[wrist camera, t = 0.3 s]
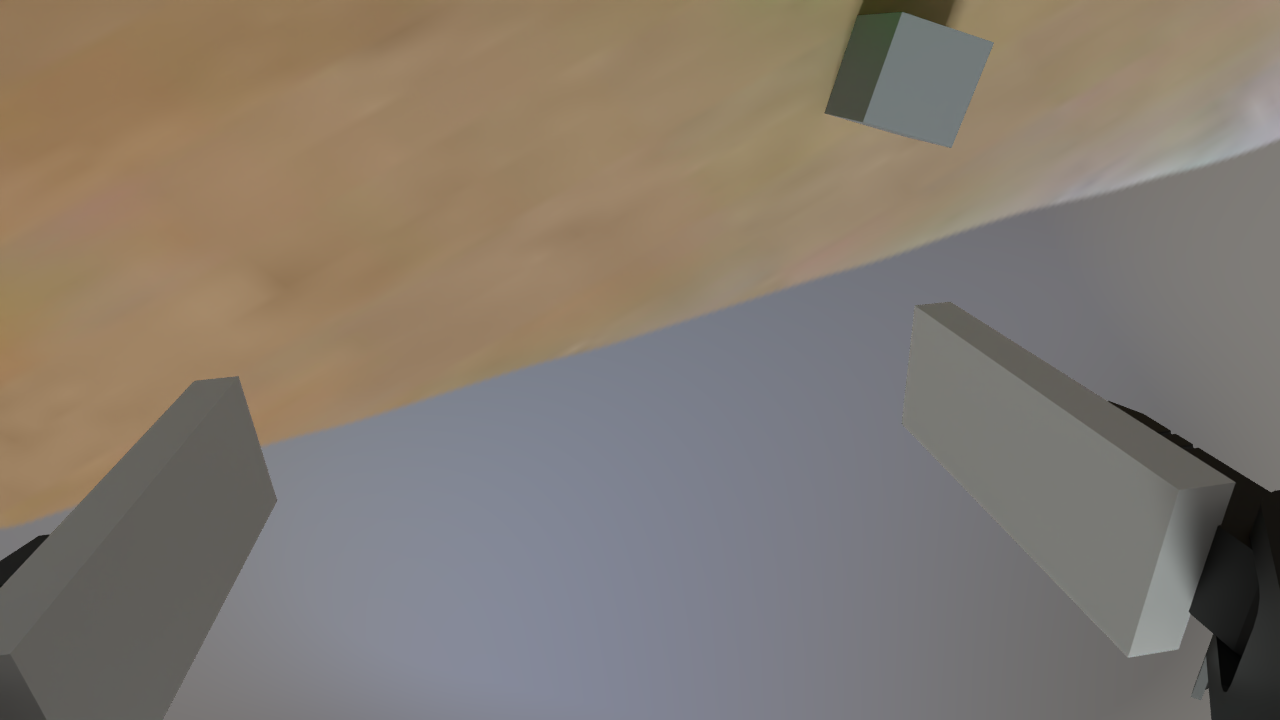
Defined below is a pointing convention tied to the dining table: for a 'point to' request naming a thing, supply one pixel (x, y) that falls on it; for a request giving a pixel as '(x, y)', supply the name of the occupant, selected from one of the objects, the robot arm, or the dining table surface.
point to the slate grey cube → (908, 76)
